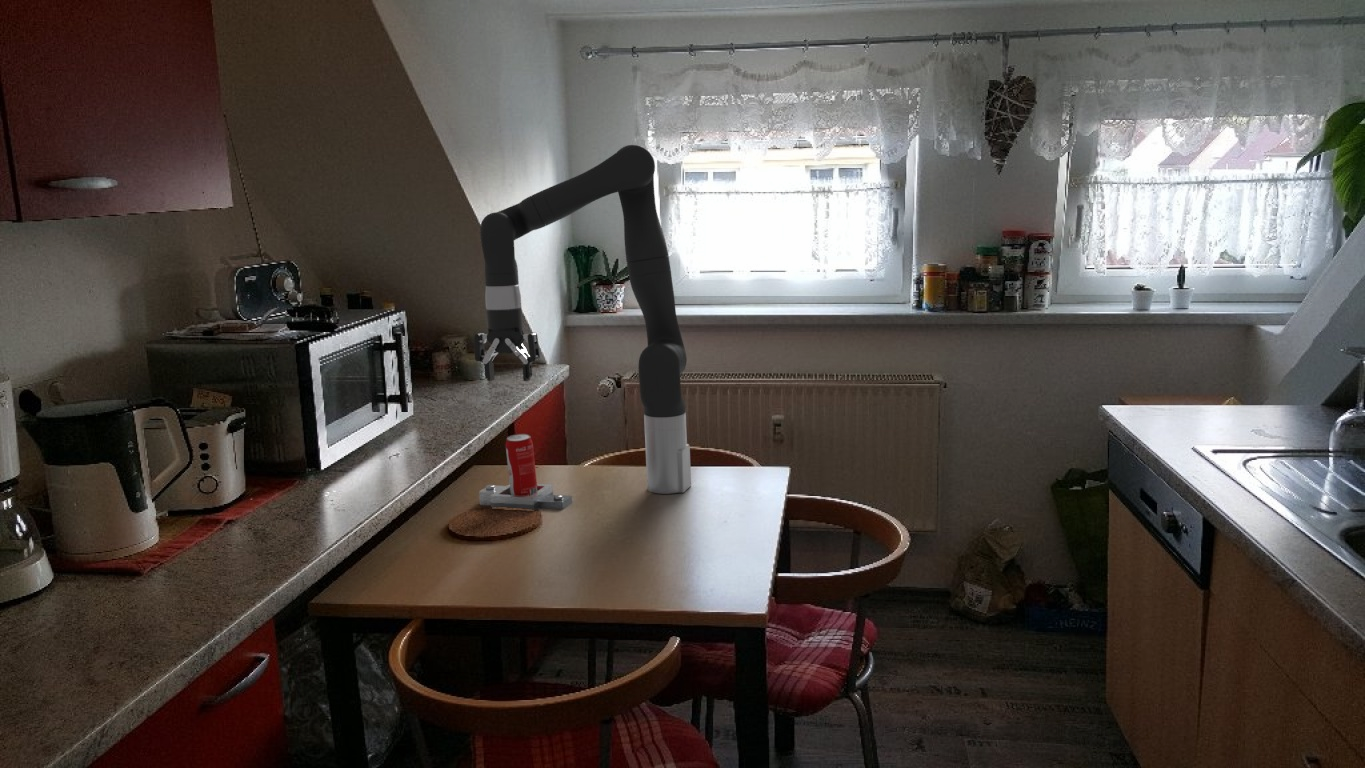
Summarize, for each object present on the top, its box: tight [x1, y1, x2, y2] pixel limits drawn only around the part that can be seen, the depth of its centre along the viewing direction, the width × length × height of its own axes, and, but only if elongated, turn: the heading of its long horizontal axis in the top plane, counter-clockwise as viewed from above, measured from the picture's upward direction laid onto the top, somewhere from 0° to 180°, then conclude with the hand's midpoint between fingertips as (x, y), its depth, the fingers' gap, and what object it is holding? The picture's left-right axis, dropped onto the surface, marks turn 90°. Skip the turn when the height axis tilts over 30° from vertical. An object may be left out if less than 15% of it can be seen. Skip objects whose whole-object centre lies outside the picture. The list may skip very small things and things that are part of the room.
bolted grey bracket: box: [478, 483, 573, 511], centre depth 211 cm, size 20×10×4 cm, turn 73°
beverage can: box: [505, 433, 538, 496], centre depth 210 cm, size 6×6×15 cm
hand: (508, 380), depth 213 cm, fingers open, 8 cm apart
